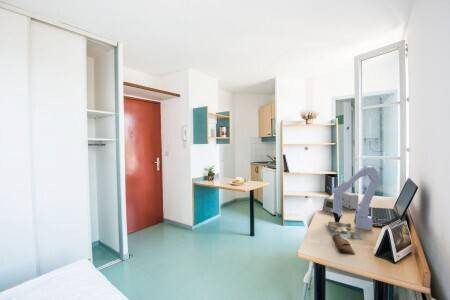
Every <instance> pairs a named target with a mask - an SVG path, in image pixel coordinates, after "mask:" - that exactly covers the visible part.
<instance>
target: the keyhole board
mask: <svg viewBox="0 0 450 300" xmlns="http://www.w3.org/2000/svg"><path fill="white" fill-rule="evenodd" d="M325 228H326V230H327V231H328V234H329V235H330V237H331V238H333V236H334V235H338V236H340V237H341V238H343V239H348V240H349V239H350V240H359V241H361V240H362V241H363V240H364V239H363V237H361V235H360V234H359V233H358V232H357V231H356V229H355V228H354V227H352V229H353V230H354V231H352V230H347V231H348V233H341V232H342V231H341V230H339V229H334V232H332V231H331V230H330V228H329V226H328V225H327V224H325Z"/></svg>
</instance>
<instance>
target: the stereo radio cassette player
mask: <svg viewBox="0 0 450 300" xmlns="http://www.w3.org/2000/svg"><path fill="white" fill-rule="evenodd" d="M342 202H343V206H342V207H344V208H346V209H347V210H348V209H349V210H356V207H357V206H358V205H359V195H358V194H356V193H354V192H350V191H348V190H347V191H346V192H344V193H343V195H342Z"/></svg>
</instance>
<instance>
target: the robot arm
mask: <svg viewBox="0 0 450 300" xmlns="http://www.w3.org/2000/svg"><path fill="white" fill-rule="evenodd" d="M362 177H365V178H366V177H368V179H369V180H370V181H369V183H368V185H367V187H366V190H365V192H364V195H363V197H362V199H361V201H360V202H359V203H358V206H357V207H356V209H355V210H356V214H355V228H357V229H359V230H369V231H370V230H371V231H372V230H373V217H372V216H370V215H369V210H370V206H371V205H370V204H371V202H372V200H373V198H374V195H375V193H376V191H377V189H378V186H379V185H380V182H381V181H380V180H381V179H380V176H379V172H378V170H377V168H375V167H374V166H372V165H369V164H367V165H365V166H364V167H362V168H360V169H359V170H358V171H357V172H356V173H354V174H353V175H352V176H351V177H349V179H348V180H345V179H344V180H342V181H341V183H340V184H338V185H336V187H334V188H333V191H332V194H333V197H332V199H333V210H331V211H333V213H332V215H333V218H334V222H339V223H340V220H341V218H342V217H343V214H342V213H343V206H342V195H343V193H344V192H346V191H347V192H348V190H350V189H351V188H352V186H353V184H354V183H355V182H356V181H357V180H359V179H361V178H362Z"/></svg>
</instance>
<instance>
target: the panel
mask: <svg viewBox="0 0 450 300" xmlns="http://www.w3.org/2000/svg"><path fill="white" fill-rule="evenodd" d="M327 223H328V225H327V226H329V228H330V230H331V231H332V232H334V229H339V230H341V231H342V232H341V233H348V231H347V230H352V231H354V230H353V229H352V228H353V227H352V224H351V223H350V222H349V223H347V222H340V221H339V222H335V221H328V222H327Z"/></svg>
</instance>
